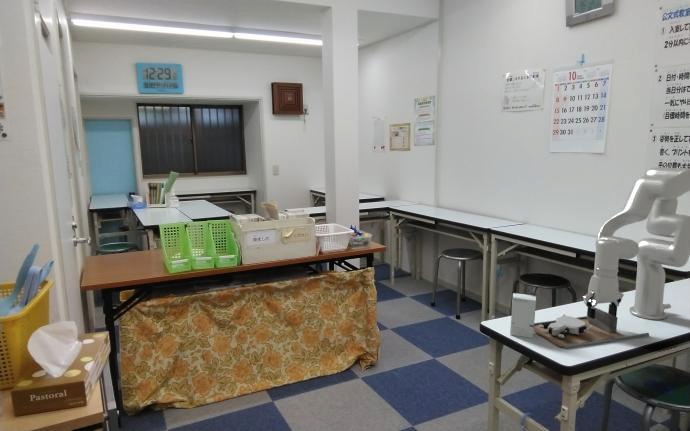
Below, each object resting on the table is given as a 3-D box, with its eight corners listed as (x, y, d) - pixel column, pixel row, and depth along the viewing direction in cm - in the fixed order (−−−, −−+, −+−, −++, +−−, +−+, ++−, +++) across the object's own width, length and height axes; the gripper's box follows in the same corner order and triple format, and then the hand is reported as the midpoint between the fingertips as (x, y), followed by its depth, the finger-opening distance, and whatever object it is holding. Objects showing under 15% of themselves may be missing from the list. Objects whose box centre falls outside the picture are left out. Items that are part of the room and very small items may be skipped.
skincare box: (510, 335, 165) (511, 297, 163) (510, 329, 171) (512, 292, 168) (534, 338, 162) (536, 300, 160) (534, 332, 167) (536, 294, 165)
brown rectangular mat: (588, 319, 178) (589, 304, 177) (626, 338, 160) (627, 321, 159) (527, 327, 171) (527, 311, 170) (559, 348, 154) (560, 330, 153)
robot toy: (562, 345, 156) (593, 335, 162) (562, 333, 156) (593, 323, 161) (536, 332, 168) (566, 323, 173) (536, 321, 167) (566, 312, 172)
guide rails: (605, 316, 181) (605, 313, 180) (648, 336, 161) (649, 333, 161) (527, 326, 172) (528, 323, 172) (564, 349, 153) (564, 346, 153)
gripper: (616, 268, 171) (612, 311, 173) (578, 271, 167) (574, 314, 169) (633, 273, 163) (628, 318, 166) (593, 276, 159) (589, 322, 162)
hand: (601, 316), depth 167 cm, fingers open, 9 cm apart
